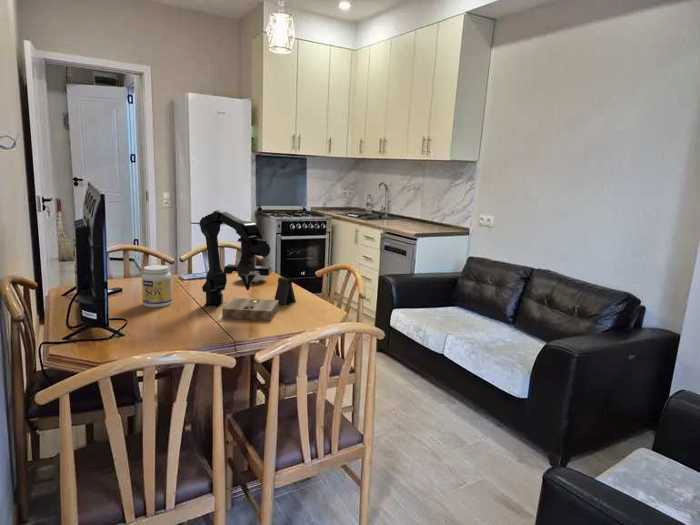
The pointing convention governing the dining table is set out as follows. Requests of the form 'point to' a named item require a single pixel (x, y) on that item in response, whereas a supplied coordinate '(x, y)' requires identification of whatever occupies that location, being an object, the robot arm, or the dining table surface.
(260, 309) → the walnut block
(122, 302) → the dining table surface
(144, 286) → the supplement tub
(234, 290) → the dining table surface
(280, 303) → the phone stand
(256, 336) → the dining table surface
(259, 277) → the cereal bowl
